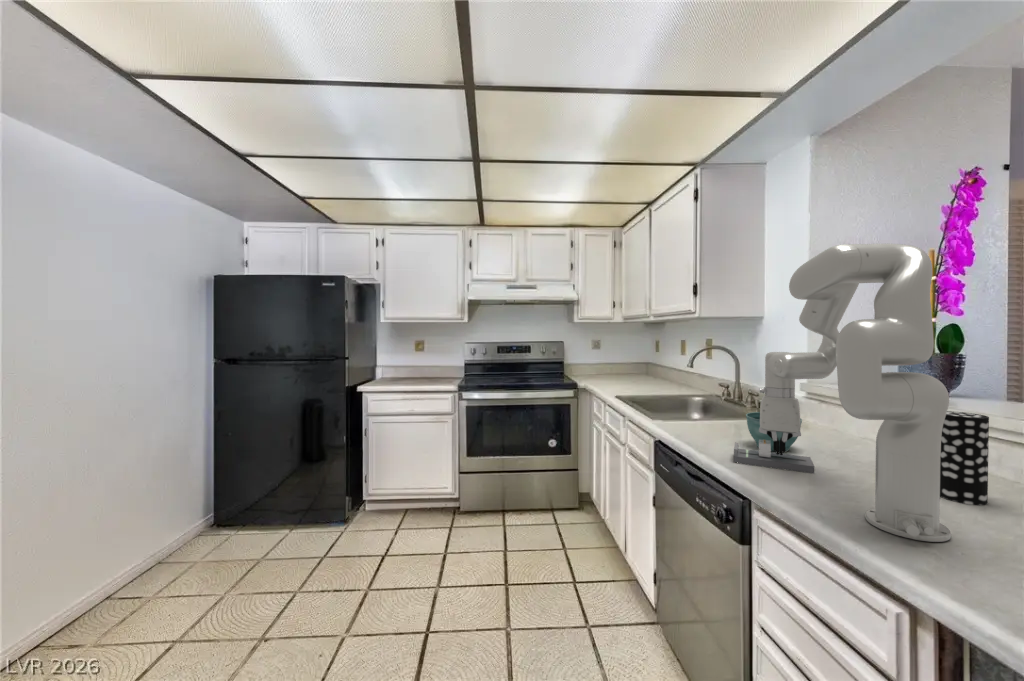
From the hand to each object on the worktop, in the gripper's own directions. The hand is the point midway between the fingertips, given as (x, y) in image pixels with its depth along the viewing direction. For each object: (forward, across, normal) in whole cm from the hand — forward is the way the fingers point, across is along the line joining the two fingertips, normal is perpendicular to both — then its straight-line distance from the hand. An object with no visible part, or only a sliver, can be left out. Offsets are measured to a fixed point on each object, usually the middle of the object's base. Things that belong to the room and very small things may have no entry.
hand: (779, 453), depth 125 cm
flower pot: (+3, -1, +19) cm, 19 cm away
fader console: (+3, -2, 0) cm, 4 cm away
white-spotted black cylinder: (+3, +36, -9) cm, 37 cm away
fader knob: (+1, -4, 0) cm, 4 cm away
